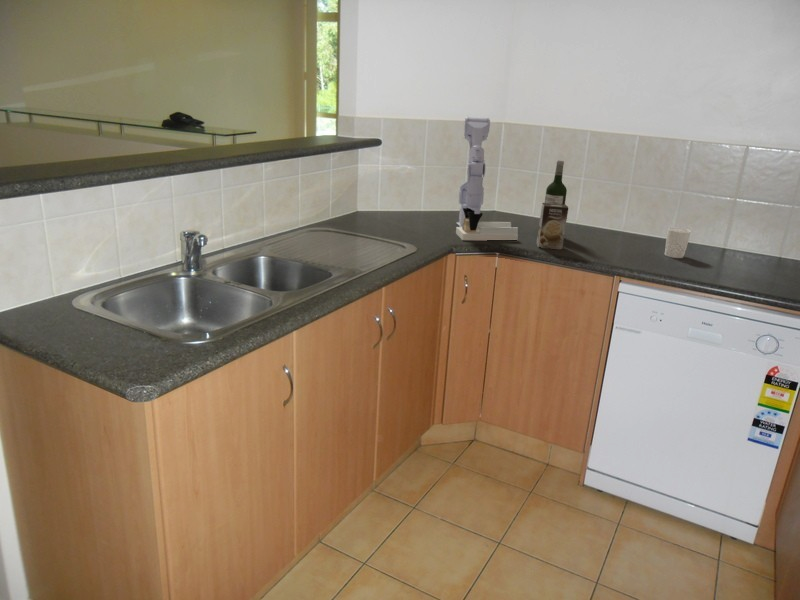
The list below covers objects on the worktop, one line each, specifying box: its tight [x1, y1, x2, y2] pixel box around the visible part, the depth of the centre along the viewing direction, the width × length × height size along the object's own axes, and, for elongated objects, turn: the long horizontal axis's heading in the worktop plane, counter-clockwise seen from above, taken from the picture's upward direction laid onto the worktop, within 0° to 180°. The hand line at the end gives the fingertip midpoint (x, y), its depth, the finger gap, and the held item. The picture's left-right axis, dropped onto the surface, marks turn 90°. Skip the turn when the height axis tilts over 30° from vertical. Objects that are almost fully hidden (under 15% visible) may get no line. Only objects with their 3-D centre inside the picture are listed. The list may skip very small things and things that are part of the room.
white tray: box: [455, 221, 519, 241], centre depth 250 cm, size 11×22×5 cm, turn 99°
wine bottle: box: [544, 159, 568, 205], centre depth 253 cm, size 8×8×30 cm
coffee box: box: [535, 202, 569, 250], centre depth 239 cm, size 9×6×16 cm
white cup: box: [664, 226, 692, 259], centre depth 237 cm, size 8×8×10 cm
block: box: [462, 218, 477, 232], centre depth 248 cm, size 4×4×4 cm
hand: (470, 228), depth 249 cm, fingers open, 5 cm apart
